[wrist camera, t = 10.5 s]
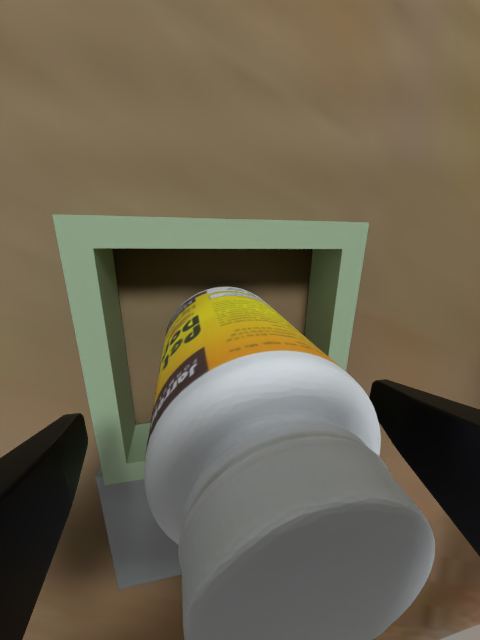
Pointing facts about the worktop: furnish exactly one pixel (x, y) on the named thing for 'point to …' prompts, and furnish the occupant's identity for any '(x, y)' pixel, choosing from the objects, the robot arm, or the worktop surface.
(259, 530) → the supplement bottle
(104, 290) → the green flat frame
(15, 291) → the worktop surface
